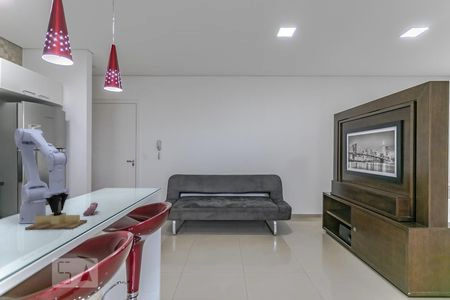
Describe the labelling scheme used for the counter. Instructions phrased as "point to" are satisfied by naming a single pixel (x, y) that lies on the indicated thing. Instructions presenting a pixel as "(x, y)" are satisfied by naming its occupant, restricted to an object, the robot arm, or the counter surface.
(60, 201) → the hinge pin
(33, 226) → the hinge board
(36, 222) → the hinge
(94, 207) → the mauve lumpy piece
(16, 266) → the counter surface
